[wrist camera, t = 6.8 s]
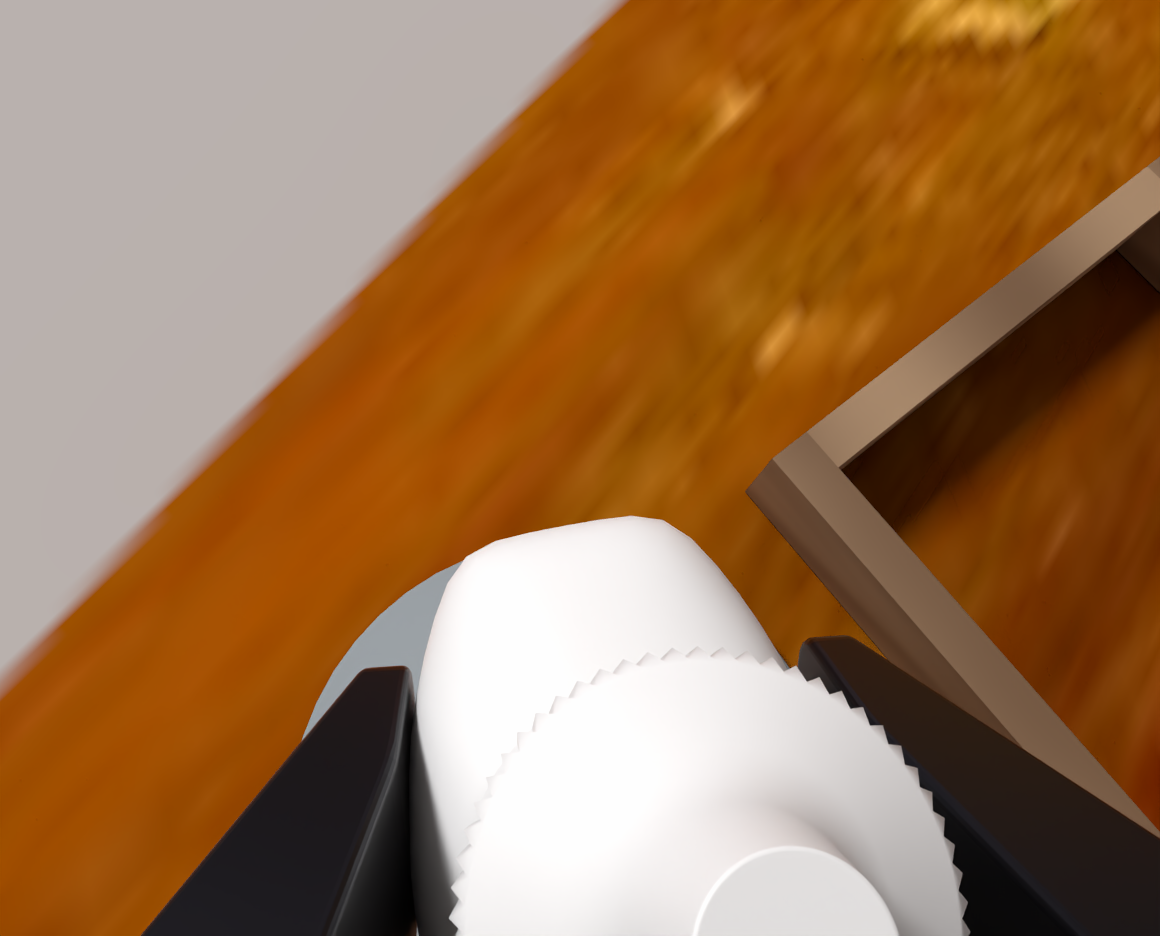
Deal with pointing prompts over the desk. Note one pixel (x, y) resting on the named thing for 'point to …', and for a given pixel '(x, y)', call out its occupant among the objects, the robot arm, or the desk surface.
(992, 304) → the walnut collar
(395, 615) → the rubber coaster
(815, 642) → the robot arm
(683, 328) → the desk surface
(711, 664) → the eye dropper bottle
